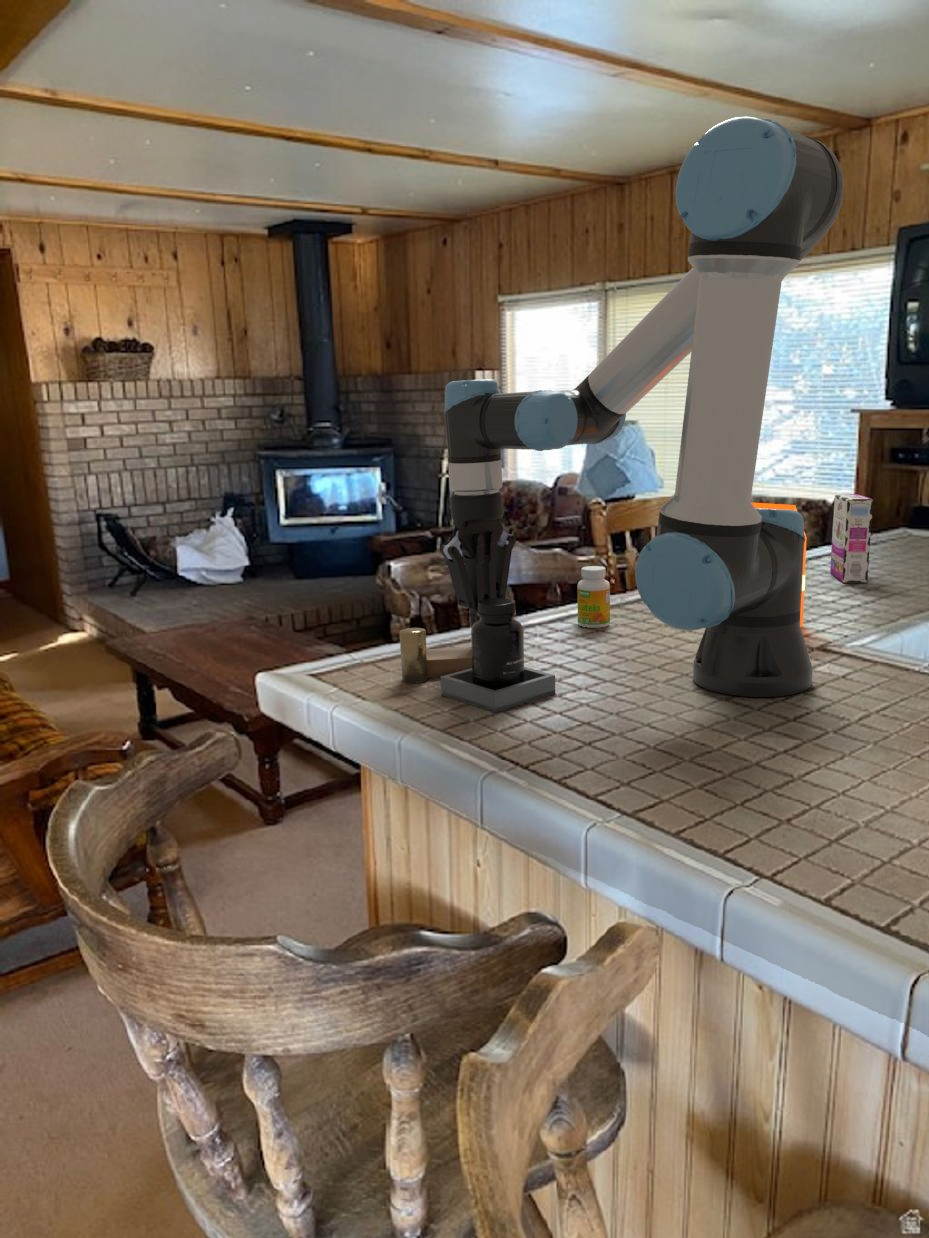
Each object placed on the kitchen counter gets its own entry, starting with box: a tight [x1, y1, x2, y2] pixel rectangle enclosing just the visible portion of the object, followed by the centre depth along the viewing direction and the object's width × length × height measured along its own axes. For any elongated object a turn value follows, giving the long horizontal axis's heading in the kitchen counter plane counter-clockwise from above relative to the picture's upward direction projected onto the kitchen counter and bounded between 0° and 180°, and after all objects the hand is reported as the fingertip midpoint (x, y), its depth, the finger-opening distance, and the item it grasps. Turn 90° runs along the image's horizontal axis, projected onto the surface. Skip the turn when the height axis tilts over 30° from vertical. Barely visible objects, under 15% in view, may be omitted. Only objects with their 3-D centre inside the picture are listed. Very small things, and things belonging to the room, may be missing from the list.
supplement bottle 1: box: [470, 597, 525, 690], centre depth 123 cm, size 7×7×12 cm
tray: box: [440, 666, 556, 713], centre depth 124 cm, size 11×11×2 cm
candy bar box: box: [829, 493, 874, 584], centre depth 187 cm, size 11×5×16 cm, turn 172°
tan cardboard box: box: [426, 646, 472, 678], centre depth 136 cm, size 6×9×2 cm, turn 93°
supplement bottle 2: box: [576, 565, 611, 629], centre depth 159 cm, size 5×5×10 cm
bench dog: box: [399, 627, 429, 684], centre depth 132 cm, size 4×4×7 cm
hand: (484, 650), depth 140 cm, fingers closed
